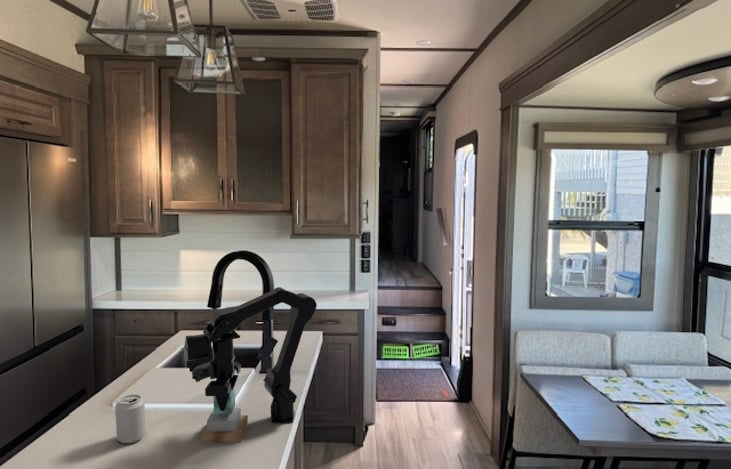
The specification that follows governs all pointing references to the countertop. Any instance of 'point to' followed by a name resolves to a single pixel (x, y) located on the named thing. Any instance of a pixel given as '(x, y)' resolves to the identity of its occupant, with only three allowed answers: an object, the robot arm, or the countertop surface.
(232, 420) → the grey block
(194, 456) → the countertop surface
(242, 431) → the walnut slab
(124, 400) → the can
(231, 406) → the teal block
